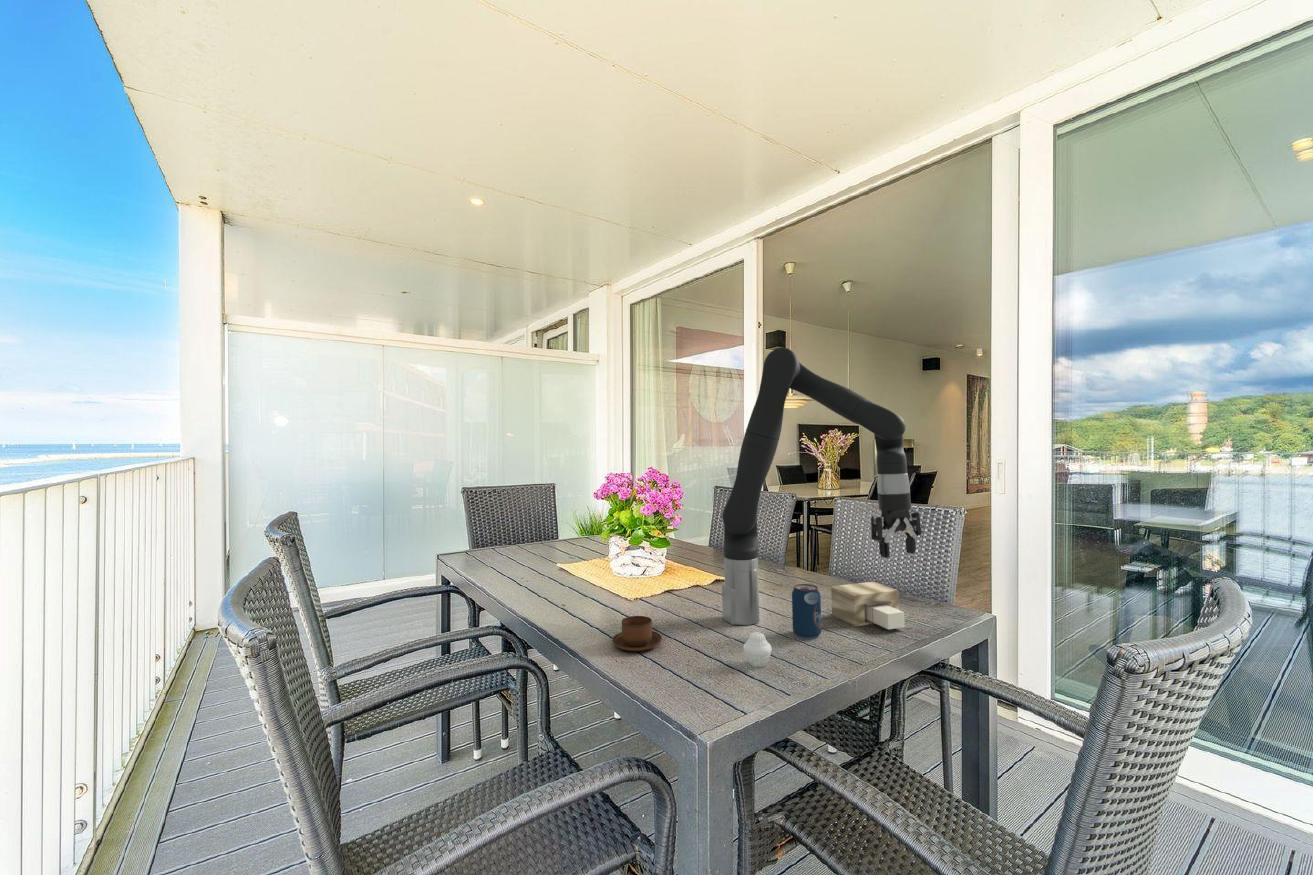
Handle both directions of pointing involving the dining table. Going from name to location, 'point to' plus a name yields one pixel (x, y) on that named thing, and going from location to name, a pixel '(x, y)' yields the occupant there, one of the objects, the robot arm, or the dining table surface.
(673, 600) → the dining table surface
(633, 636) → the cup and saucer
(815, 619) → the soda can
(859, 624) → the dispenser
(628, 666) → the dining table surface
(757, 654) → the white rounded piece
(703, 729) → the dining table surface
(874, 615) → the white two-segment bar
